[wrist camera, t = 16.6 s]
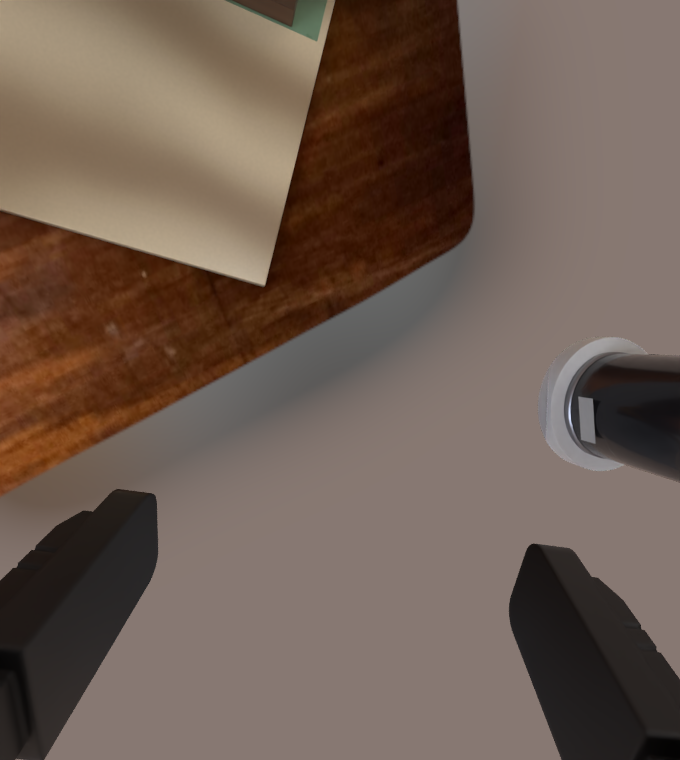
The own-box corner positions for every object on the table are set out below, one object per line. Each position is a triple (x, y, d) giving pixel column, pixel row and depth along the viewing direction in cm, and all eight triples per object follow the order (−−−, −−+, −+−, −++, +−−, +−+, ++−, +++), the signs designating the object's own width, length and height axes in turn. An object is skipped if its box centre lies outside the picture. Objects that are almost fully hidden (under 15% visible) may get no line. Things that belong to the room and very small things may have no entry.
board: (264, 287, 30) (265, 285, 29) (-74, 189, 25) (-85, 184, 24) (363, -116, 29) (367, -129, 28) (33, -301, 24) (25, -323, 23)
